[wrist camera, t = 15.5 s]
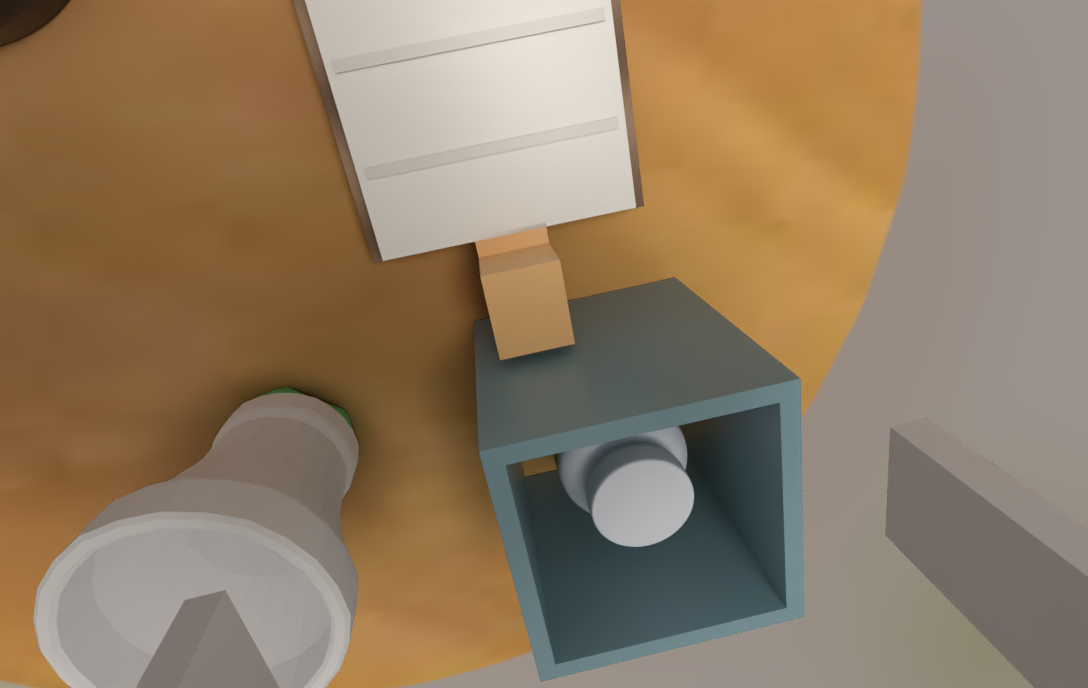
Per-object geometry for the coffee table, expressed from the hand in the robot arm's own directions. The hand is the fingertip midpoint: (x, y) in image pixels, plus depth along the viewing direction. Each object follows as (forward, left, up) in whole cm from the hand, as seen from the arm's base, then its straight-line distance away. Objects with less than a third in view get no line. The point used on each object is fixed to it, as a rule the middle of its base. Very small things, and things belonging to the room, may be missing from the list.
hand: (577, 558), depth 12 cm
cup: (+8, -14, -23) cm, 29 cm away
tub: (+9, +4, -23) cm, 25 cm away
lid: (-6, +1, -22) cm, 22 cm away
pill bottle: (+9, +4, -23) cm, 25 cm away
